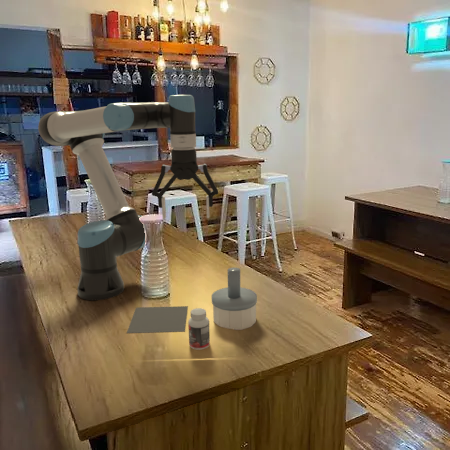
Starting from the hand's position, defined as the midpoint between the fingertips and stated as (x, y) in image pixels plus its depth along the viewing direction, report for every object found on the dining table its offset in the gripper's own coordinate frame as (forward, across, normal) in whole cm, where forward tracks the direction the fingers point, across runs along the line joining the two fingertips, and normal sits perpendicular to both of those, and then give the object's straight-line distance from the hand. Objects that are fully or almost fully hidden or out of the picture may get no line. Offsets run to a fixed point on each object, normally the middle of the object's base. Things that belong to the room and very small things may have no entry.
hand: (186, 217), depth 141 cm
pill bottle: (+27, +4, -31) cm, 41 cm away
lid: (+21, +14, -17) cm, 30 cm away
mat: (+27, -8, -16) cm, 32 cm away
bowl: (+27, +14, -17) cm, 35 cm away
